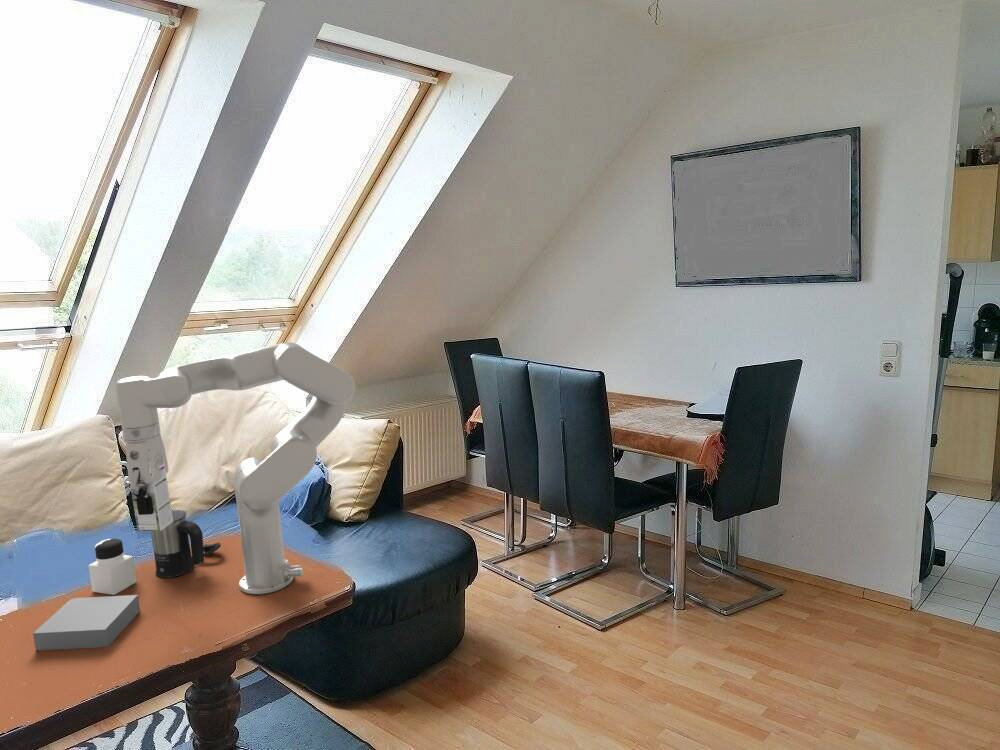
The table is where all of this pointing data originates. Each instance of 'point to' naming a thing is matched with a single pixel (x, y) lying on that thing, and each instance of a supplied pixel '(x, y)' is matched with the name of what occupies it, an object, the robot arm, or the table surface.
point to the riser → (87, 623)
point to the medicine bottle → (111, 568)
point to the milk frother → (179, 546)
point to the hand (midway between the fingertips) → (152, 507)
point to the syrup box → (156, 506)
